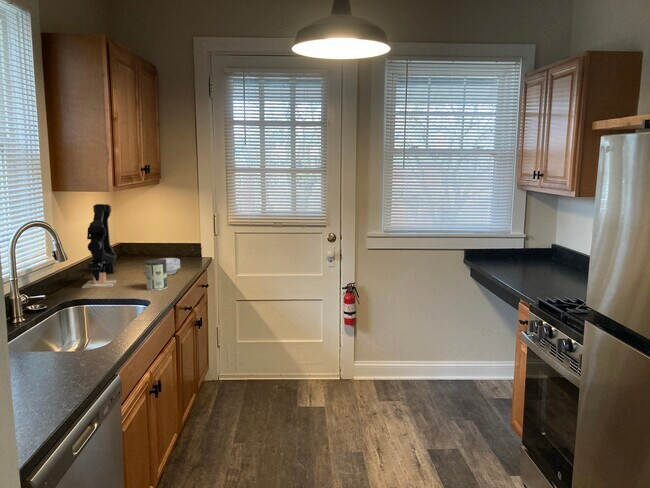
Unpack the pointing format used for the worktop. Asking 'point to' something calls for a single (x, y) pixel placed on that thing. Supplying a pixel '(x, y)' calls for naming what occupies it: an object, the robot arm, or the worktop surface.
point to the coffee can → (156, 274)
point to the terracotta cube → (101, 278)
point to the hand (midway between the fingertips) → (99, 278)
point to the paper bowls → (172, 265)
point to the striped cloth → (91, 284)
